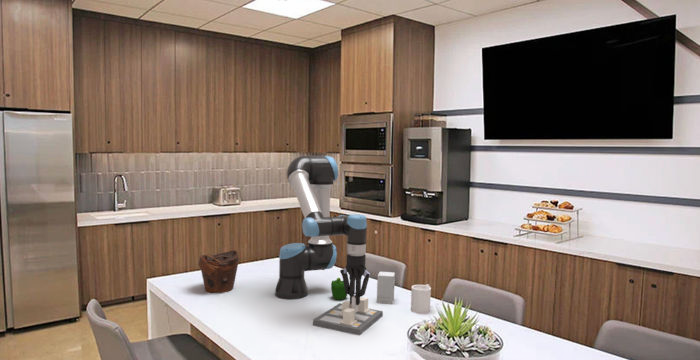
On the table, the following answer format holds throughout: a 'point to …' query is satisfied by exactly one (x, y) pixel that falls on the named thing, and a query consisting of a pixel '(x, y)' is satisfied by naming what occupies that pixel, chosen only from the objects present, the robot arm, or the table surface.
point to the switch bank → (333, 322)
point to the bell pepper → (338, 289)
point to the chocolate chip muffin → (219, 271)
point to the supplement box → (385, 287)
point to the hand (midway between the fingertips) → (354, 312)
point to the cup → (420, 298)
